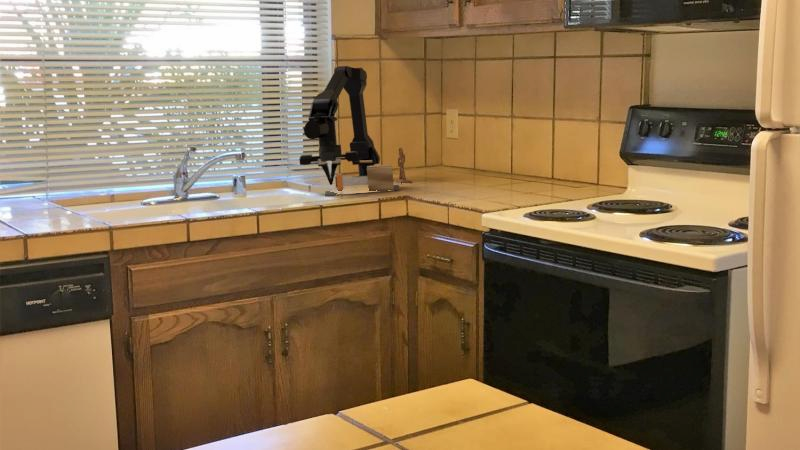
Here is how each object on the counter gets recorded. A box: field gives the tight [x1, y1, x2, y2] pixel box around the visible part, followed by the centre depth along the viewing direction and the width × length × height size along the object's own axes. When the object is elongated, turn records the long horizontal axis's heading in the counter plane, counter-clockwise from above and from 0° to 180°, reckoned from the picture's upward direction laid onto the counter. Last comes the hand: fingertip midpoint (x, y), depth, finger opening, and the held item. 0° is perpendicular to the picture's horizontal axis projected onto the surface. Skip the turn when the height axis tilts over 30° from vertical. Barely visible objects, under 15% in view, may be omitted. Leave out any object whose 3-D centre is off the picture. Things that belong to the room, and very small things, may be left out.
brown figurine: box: [393, 147, 412, 185], centre depth 310 cm, size 9×4×12 cm, turn 15°
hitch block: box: [367, 163, 395, 191], centre depth 294 cm, size 10×8×7 cm
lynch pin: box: [334, 172, 368, 191], centre depth 294 cm, size 5×16×5 cm, turn 93°
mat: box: [324, 184, 401, 197], centre depth 295 cm, size 11×24×1 cm, turn 93°
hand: (331, 184), depth 294 cm, fingers closed
